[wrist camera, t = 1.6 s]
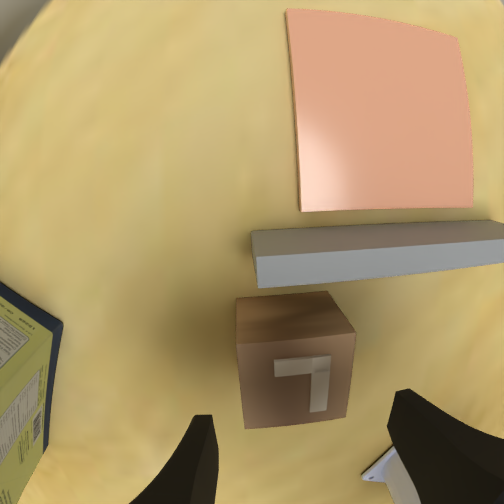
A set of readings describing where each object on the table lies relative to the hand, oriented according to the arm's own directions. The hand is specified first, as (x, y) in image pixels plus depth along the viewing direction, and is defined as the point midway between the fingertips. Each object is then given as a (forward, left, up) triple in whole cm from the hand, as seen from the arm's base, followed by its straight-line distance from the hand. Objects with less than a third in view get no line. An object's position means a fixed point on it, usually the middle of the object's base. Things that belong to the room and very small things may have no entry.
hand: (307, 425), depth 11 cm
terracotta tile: (+1, -14, -7) cm, 16 cm away
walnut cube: (0, 0, -8) cm, 8 cm away
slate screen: (-2, -8, -7) cm, 11 cm away
